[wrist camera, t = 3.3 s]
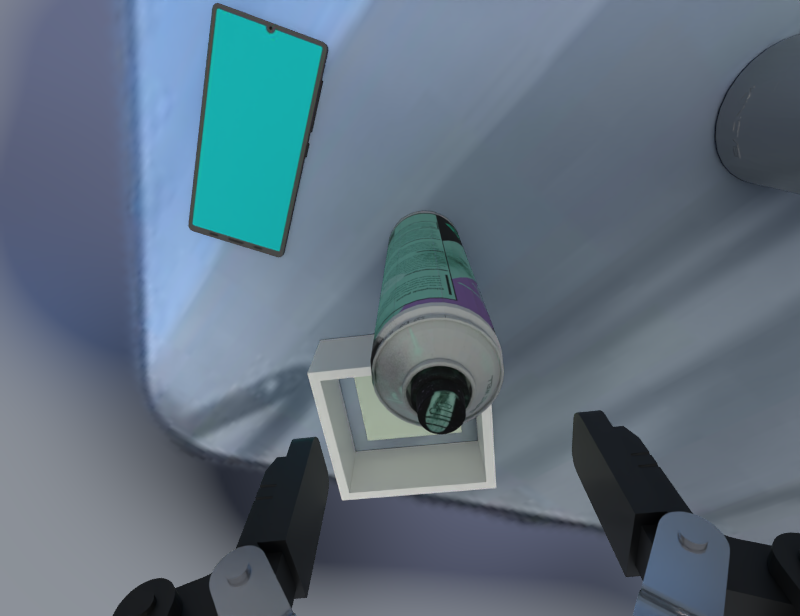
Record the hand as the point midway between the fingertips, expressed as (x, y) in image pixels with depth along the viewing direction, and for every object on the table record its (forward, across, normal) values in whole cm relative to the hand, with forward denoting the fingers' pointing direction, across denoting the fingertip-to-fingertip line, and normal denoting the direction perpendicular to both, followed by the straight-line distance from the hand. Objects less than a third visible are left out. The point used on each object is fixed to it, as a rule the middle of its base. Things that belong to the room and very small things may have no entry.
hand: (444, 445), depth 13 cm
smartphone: (+22, +11, -9) cm, 26 cm away
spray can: (+22, 0, 0) cm, 22 cm away
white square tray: (+21, +3, +14) cm, 26 cm away
